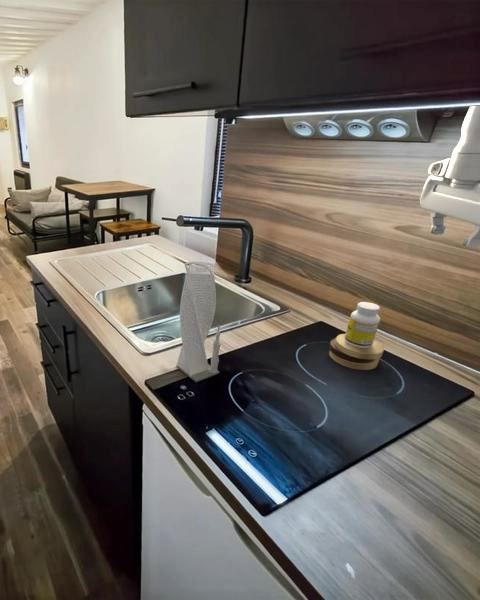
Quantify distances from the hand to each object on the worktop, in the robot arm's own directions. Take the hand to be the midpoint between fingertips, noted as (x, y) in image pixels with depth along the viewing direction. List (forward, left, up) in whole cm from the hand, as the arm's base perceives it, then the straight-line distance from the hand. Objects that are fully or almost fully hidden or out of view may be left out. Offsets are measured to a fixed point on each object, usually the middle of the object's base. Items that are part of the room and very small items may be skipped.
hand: (451, 239), depth 74 cm
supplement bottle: (+12, +1, -25) cm, 28 cm away
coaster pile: (+12, +1, -29) cm, 31 cm away
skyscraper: (+50, +9, -29) cm, 59 cm away
